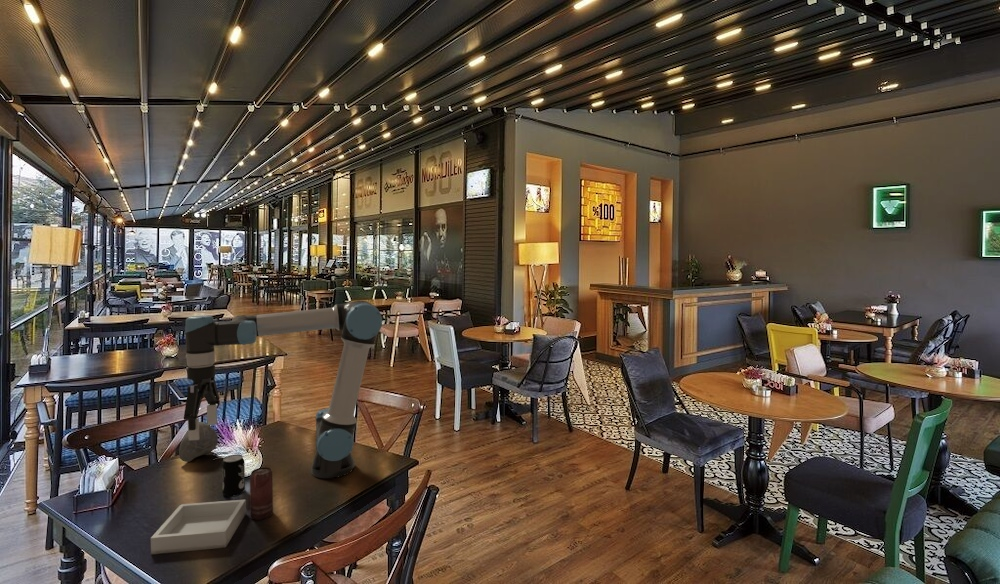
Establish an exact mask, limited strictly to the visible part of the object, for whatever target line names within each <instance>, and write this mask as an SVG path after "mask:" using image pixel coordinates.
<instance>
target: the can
mask: <svg viewBox="0 0 1000 584" xmlns="http://www.w3.org/2000/svg"><path fill="white" fill-rule="evenodd" d="M273 486H274V484H273V471H272V468H270V467H266V466H265V467H258V468H255V469H253V470H251V472H250V475H249V494H250V496H249V497H250V498H249V499H250V501H249V502H250V505H249V506H250V517H251V519H252V520H256V521H261V520H266V519H268V518H270V517H271V516H272V514H273V513H274V495H273V493H274V492H273V491H274V490H273Z"/></svg>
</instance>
